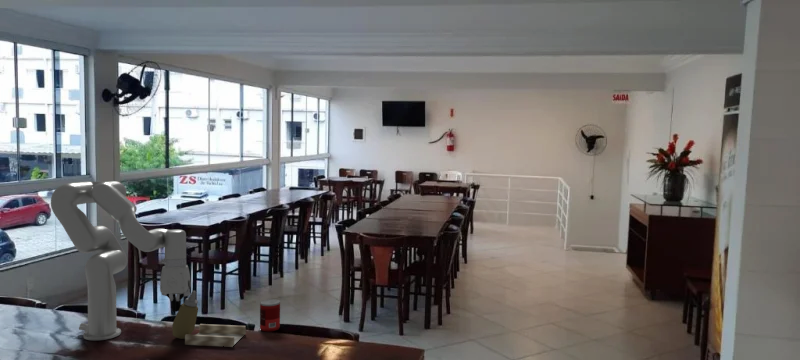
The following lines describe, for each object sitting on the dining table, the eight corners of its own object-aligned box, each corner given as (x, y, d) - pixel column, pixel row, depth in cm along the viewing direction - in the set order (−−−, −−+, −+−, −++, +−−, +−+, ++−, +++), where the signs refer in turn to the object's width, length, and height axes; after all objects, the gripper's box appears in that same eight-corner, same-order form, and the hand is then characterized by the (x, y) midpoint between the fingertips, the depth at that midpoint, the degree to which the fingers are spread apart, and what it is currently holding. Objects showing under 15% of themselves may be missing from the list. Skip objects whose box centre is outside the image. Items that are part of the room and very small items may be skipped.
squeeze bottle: (183, 342, 202) (197, 297, 202) (164, 334, 204) (179, 289, 203) (195, 336, 210) (209, 293, 209) (177, 329, 212) (191, 285, 211)
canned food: (283, 327, 223) (283, 300, 222) (272, 333, 215) (273, 305, 215) (267, 324, 225) (267, 298, 225) (256, 330, 218) (256, 303, 217)
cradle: (185, 344, 200) (185, 335, 200) (200, 332, 213) (200, 323, 213) (233, 346, 199) (233, 337, 199) (245, 334, 212) (245, 325, 212)
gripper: (151, 264, 203) (152, 313, 203) (190, 265, 202) (191, 314, 202) (161, 260, 210) (162, 307, 211) (199, 261, 209) (199, 308, 210)
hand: (176, 310), depth 207 cm, fingers closed
